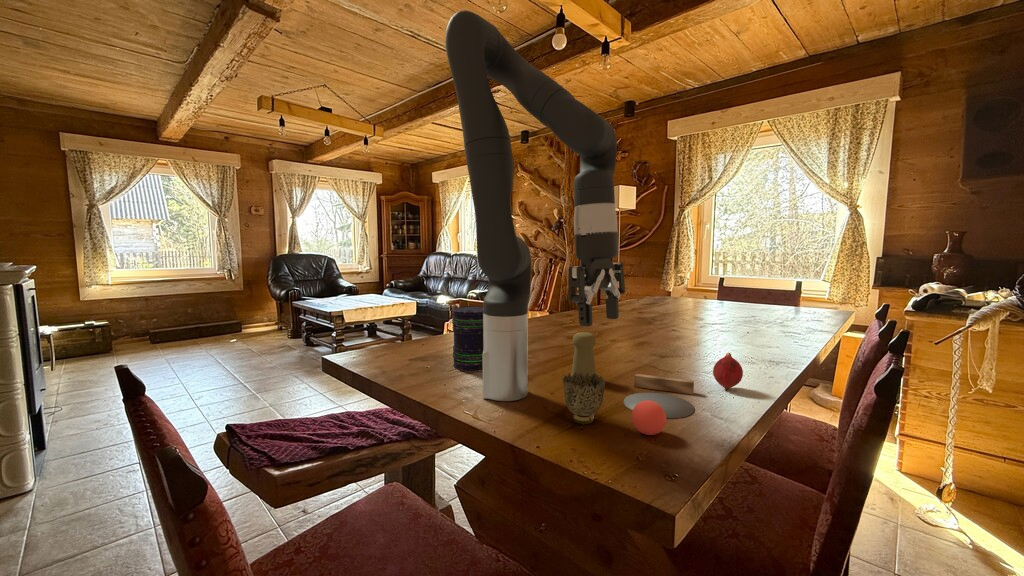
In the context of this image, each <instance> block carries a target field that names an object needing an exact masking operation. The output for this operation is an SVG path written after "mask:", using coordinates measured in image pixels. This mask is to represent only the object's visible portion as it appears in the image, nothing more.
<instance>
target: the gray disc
mask: <svg viewBox="0 0 1024 576" xmlns="http://www.w3.org/2000/svg"><path fill="white" fill-rule="evenodd" d="M646 400H648V401H653V402H656V403H657V404H659V405H660V406H661V407H662V408H663V410H664V411H665V414H666V419H679V418H680V419H682V418H686V417H689V416H691V415H692V414H693V413H694V412H695V408H694V405H693V404H692V403H690V401H687V400H686V399H683V398H681V397H678V396H675V395H671V394H665V393H660V392H637V393H632V394H630V395H629V394H628V395H627V396H626V397H625V398H624V399H623V405H624V406H625V407H626V408H628V410H630V411H631V412H632V411H633V409H634V407H635V406H636V405H637V404H638V403H640V402H642V401H646Z"/></svg>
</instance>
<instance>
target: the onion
mask: <svg viewBox="0 0 1024 576" xmlns="http://www.w3.org/2000/svg"><path fill="white" fill-rule="evenodd" d="M712 375H713V377H714V379H715V381H716V382H717V384H719V385H720V386H721V387H722V388H724V389H726V390H729V389H731V388H733V387H735V386H737V385H738V384H739V383H740V382H742V380H743V376H744V369H743V367H742V365H741V364H740V362H739V361H738V360H737V359H736V358H734V357H733V356H732V353H731V352H726V353H725V356H724V357H721V358H720V359H718V360H717V361H716V362H715V364H714V365H713V369H712Z"/></svg>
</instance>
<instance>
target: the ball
mask: <svg viewBox="0 0 1024 576" xmlns="http://www.w3.org/2000/svg"><path fill="white" fill-rule="evenodd" d="M631 421H632V424H633V426H634V428H635V429H636V430H637V431H638V432H639V433H641V434H643V435H645V436H655V435H658V434H659V433H661V432H662V431H664V428H665V427H666V423H667V418H666V414H665V411H664V410H663V408H662V407H661V406H660V405H659V404H657V403H656V402H653V401H648V400H646V401H642V402H640V403H638V404H637V405H636V406H635V407H634V409H633V411H632V410H631Z"/></svg>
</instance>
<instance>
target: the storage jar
mask: <svg viewBox="0 0 1024 576" xmlns="http://www.w3.org/2000/svg"><path fill="white" fill-rule="evenodd" d="M451 325H452V332H453V346H452V351H453V352H452V358H453V359H452V361H453V364H452V365H453V367H454V368H455V369H454V370H456V369H457V370H456V371H459V370H461V371H460V372H466V371H475V372H480V371H479V370H482V371H483V306H480V305H478V306H475V305H474V306H473V305H469V306H457V307H454V308H452V322H451Z"/></svg>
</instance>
